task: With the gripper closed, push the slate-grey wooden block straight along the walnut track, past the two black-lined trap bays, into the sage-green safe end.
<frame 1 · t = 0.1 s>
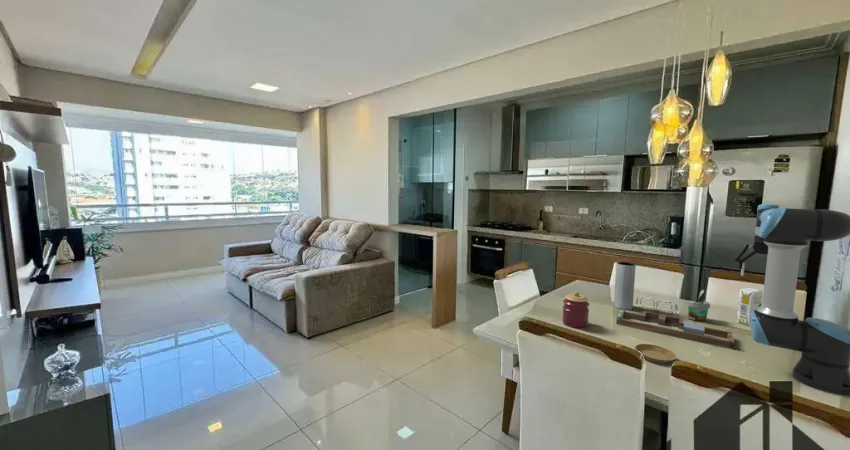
hand: (760, 277, 172), 28 cm above the table, tool pointing down, fingers open, 13 cm apart
food container: (700, 320, 189), on the table
juice carton: (747, 324, 185), on the table
grey block: (693, 335, 170), resting in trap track
vase: (623, 307, 210), on the table
canister: (574, 324, 184), on the table
plant saucer: (654, 357, 148), on the table
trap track: (670, 330, 175), on the table
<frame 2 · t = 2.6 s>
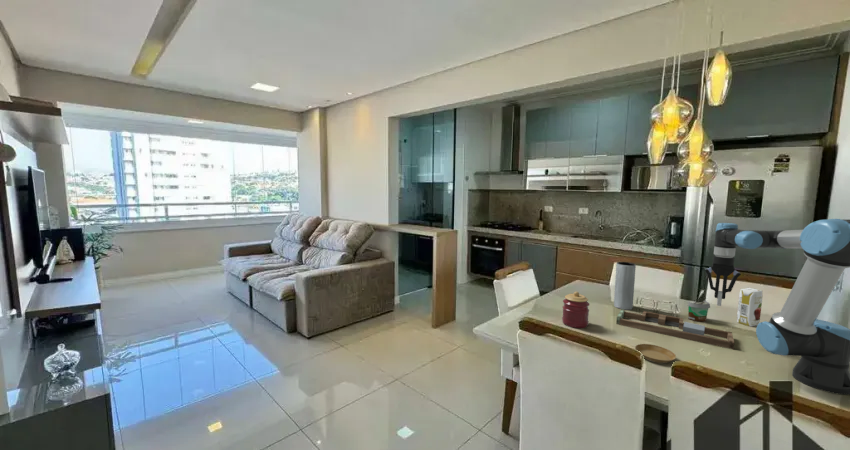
hand: (718, 304, 163), 17 cm above the table, tool pointing down, fingers closed
nothing on the table moved.
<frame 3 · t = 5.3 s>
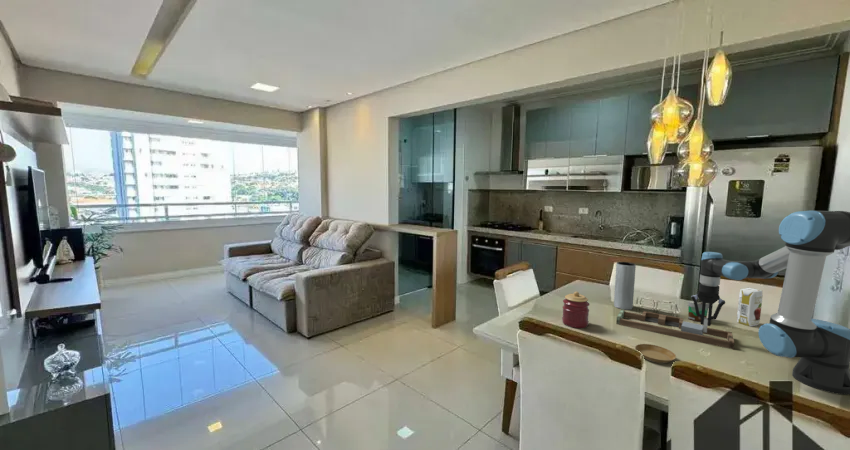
hand: (704, 331, 167), 3 cm above the table, tool pointing down, fingers closed
grey block: (691, 335, 170), resting in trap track, touching gripper
everything else where it was.
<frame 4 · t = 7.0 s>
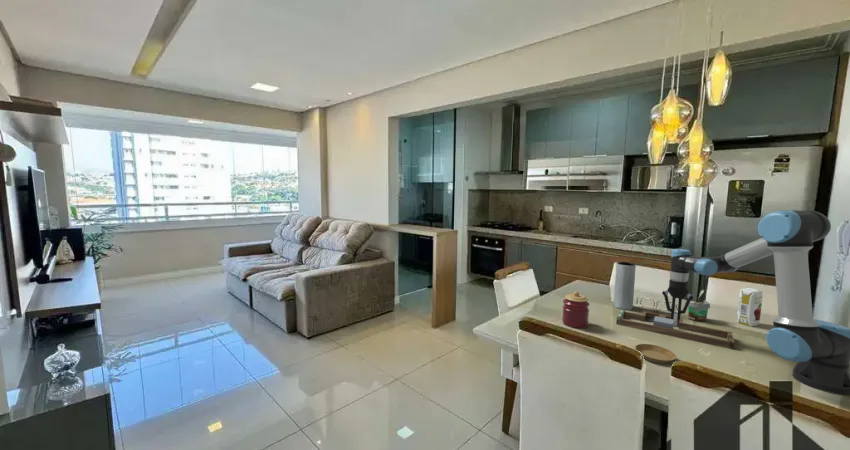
hand: (674, 325, 174), 3 cm above the table, tool pointing down, fingers closed
grey block: (663, 329, 177), resting in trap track
everything else where it was.
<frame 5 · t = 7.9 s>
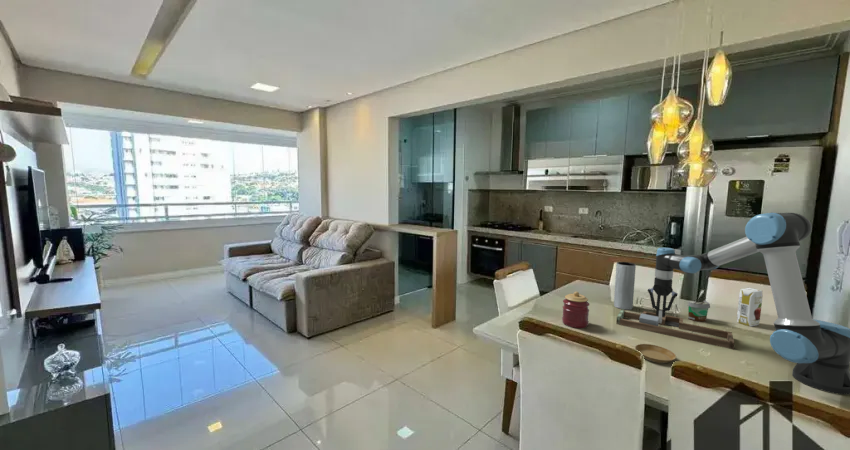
hand: (659, 322, 178), 3 cm above the table, tool pointing down, fingers closed
grey block: (648, 326, 181), resting in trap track, touching gripper
everything else where it was.
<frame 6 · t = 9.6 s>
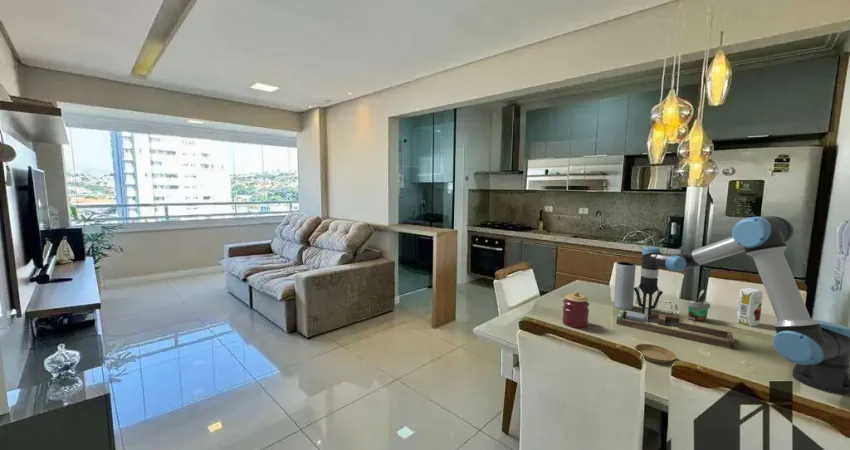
hand: (645, 320, 182), 3 cm above the table, tool pointing down, fingers closed
grey block: (635, 323, 185), resting in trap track
everything else where it was.
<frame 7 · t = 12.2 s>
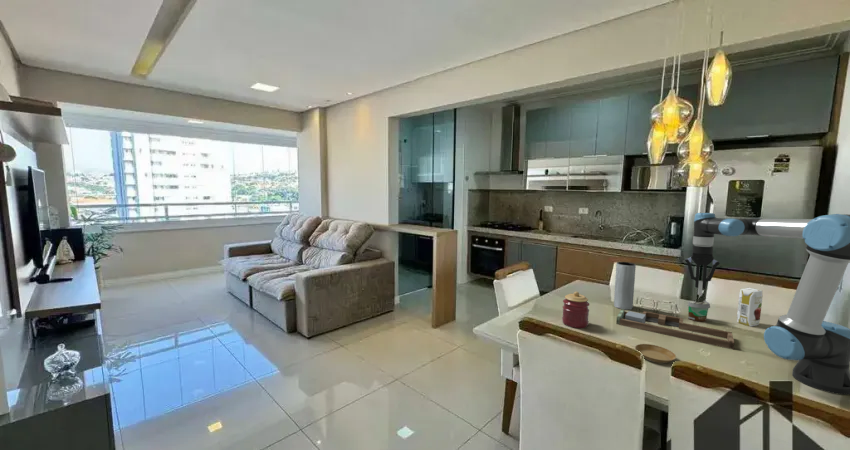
hand: (699, 294, 164), 22 cm above the table, tool pointing down, fingers closed
nothing on the table moved.
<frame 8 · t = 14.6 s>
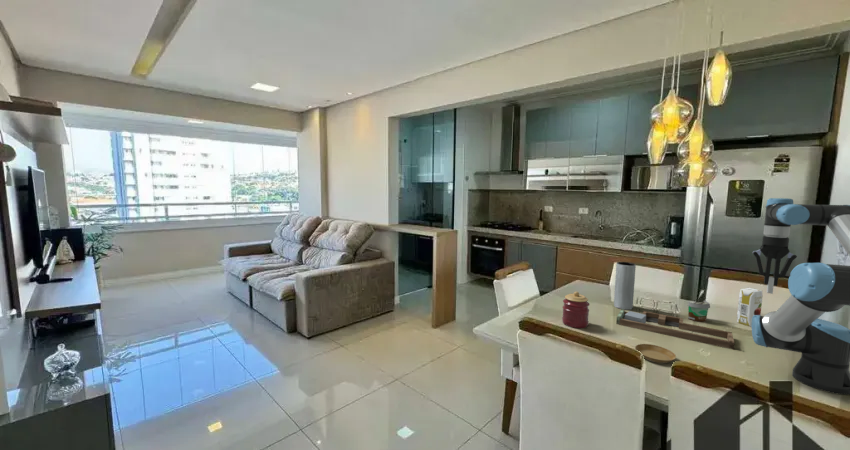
hand: (769, 292, 142), 29 cm above the table, tool pointing down, fingers closed
nothing on the table moved.
at the end: grey block inside the target area (0.5 cm from its centre), resting in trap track; grey block tilted 0°; grey block moved 24.8 cm from its start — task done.
